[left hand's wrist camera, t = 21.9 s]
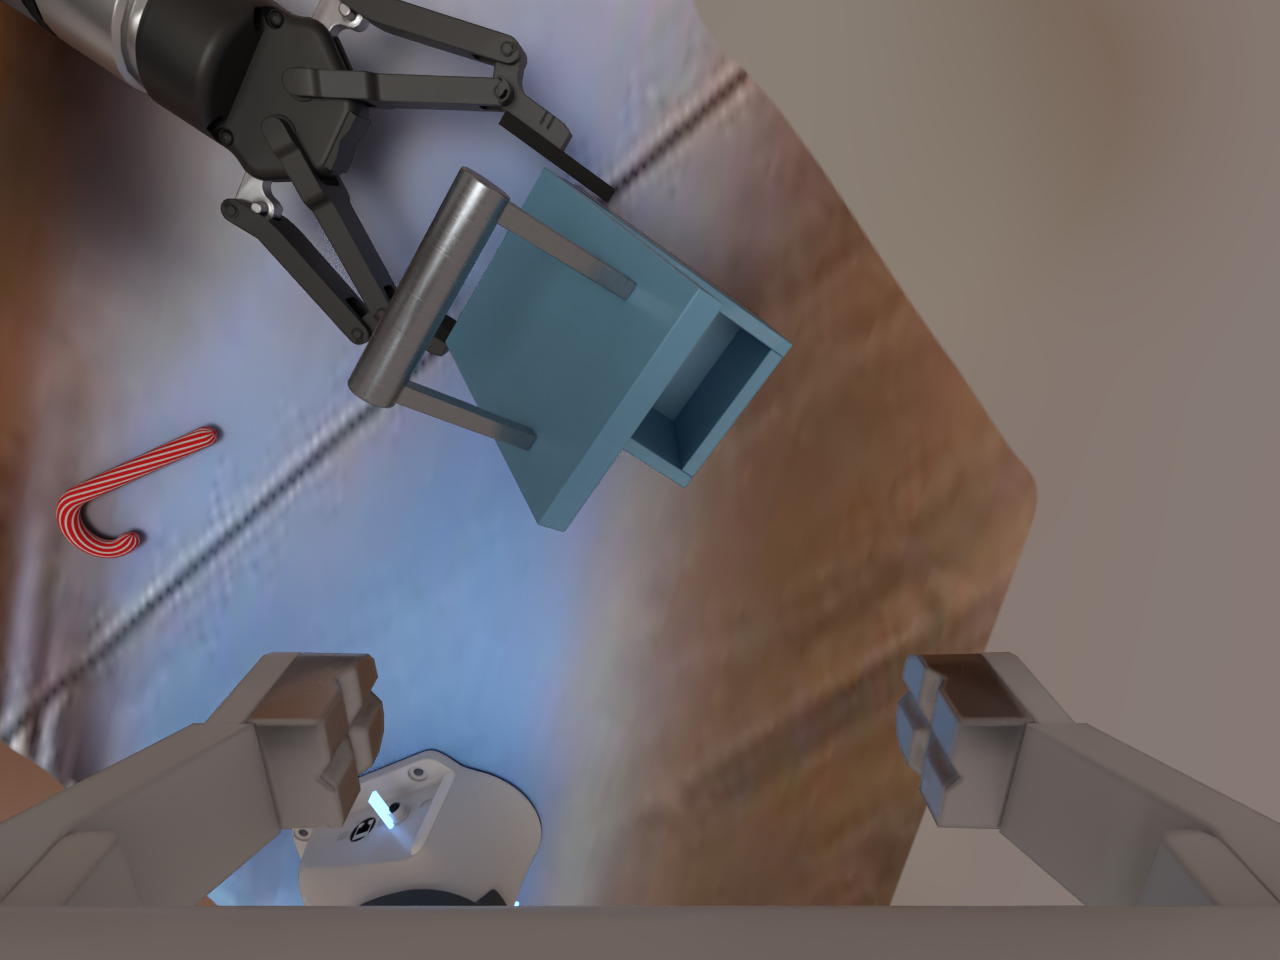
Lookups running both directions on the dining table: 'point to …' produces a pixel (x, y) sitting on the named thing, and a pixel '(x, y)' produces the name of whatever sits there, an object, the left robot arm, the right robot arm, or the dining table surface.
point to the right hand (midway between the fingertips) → (556, 285)
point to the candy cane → (116, 478)
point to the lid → (539, 334)
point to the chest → (703, 380)
